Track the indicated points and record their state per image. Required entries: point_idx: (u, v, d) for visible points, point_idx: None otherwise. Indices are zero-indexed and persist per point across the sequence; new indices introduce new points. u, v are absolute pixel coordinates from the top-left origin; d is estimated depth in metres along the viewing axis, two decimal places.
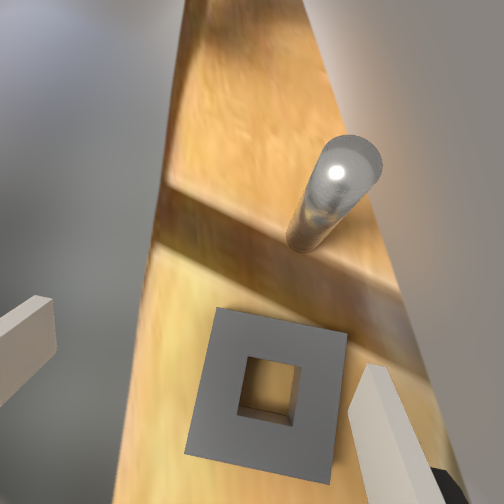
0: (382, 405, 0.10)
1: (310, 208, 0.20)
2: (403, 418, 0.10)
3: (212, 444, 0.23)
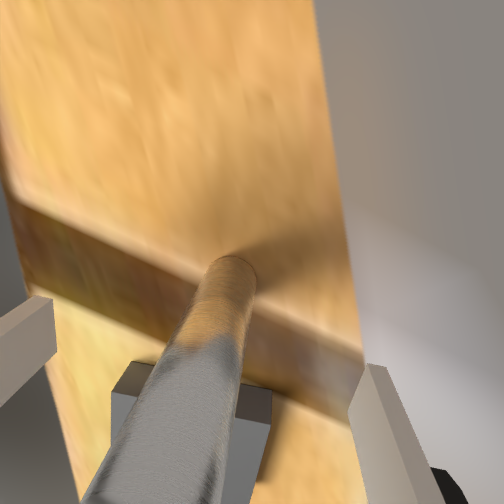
0: (382, 405, 0.10)
1: None
2: (403, 418, 0.10)
3: None
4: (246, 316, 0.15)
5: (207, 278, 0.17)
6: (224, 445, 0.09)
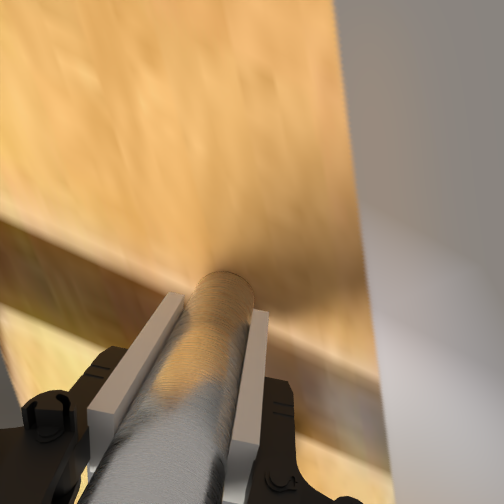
0: (249, 335, 0.12)
1: None
2: (262, 344, 0.12)
3: None
4: (240, 355, 0.12)
5: (194, 301, 0.14)
6: None
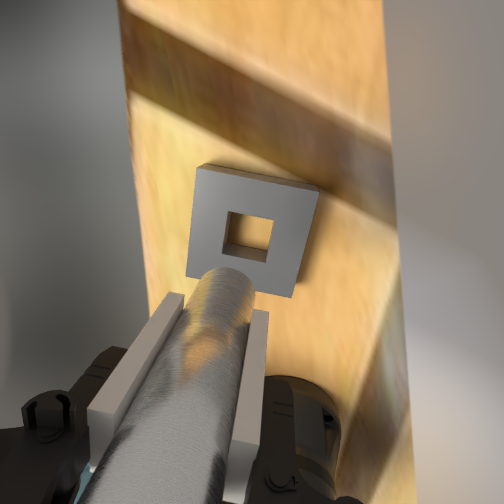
0: (249, 335, 0.12)
1: None
2: (262, 344, 0.12)
3: (205, 271, 0.31)
4: (242, 346, 0.12)
5: (197, 295, 0.15)
6: None
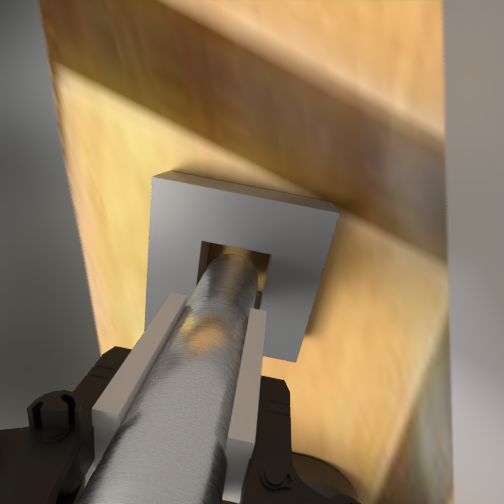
0: (246, 334, 0.12)
1: None
2: (259, 343, 0.12)
3: None
4: (247, 318, 0.14)
5: (206, 276, 0.16)
6: (222, 463, 0.08)
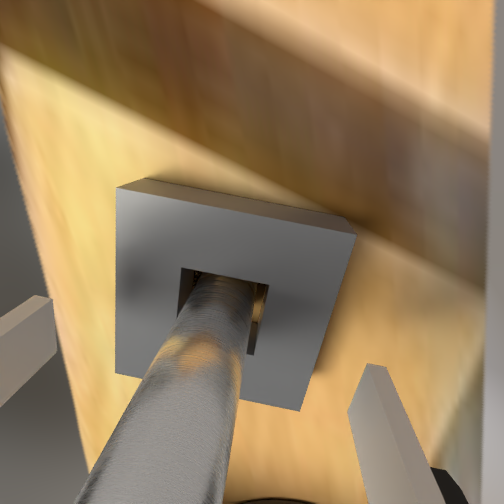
0: (382, 405, 0.10)
1: None
2: (403, 418, 0.10)
3: (148, 366, 0.17)
4: (246, 327, 0.13)
5: (202, 281, 0.15)
6: (216, 500, 0.07)
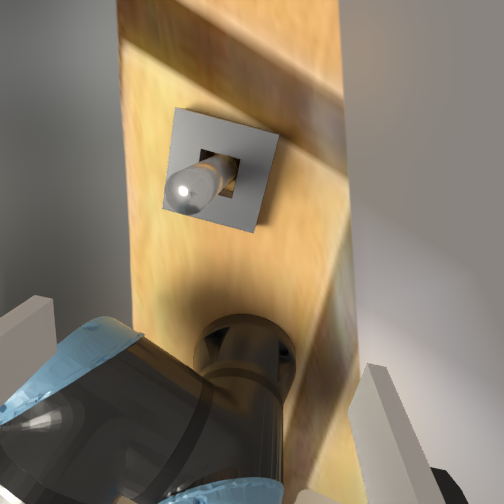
0: (382, 405, 0.10)
1: None
2: (403, 418, 0.10)
3: None
4: (228, 170, 0.31)
5: None
6: (213, 183, 0.25)
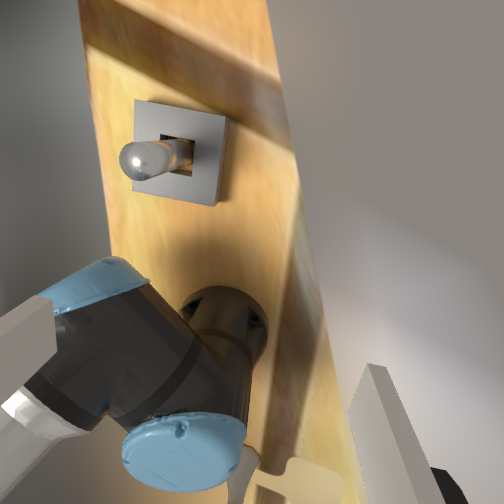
0: (382, 405, 0.10)
1: None
2: (403, 418, 0.10)
3: (147, 186, 0.40)
4: (183, 149, 0.36)
5: None
6: (162, 155, 0.29)
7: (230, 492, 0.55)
